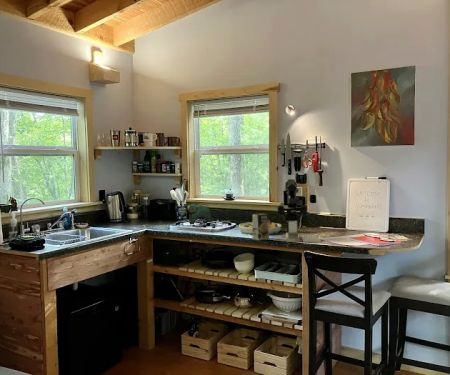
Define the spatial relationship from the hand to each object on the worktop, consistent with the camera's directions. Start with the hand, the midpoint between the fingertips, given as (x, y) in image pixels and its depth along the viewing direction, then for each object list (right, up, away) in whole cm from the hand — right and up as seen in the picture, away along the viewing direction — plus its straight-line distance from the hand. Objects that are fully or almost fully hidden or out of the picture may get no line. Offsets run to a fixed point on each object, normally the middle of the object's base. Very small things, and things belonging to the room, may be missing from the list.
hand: (292, 220), depth 267 cm
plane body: (0, -12, -1) cm, 12 cm away
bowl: (-18, -11, +29) cm, 36 cm away
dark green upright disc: (-63, -9, +61) cm, 88 cm away
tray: (+11, -12, -5) cm, 17 cm away
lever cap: (-1, -10, -5) cm, 11 cm away
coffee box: (-20, -12, +1) cm, 24 cm away
